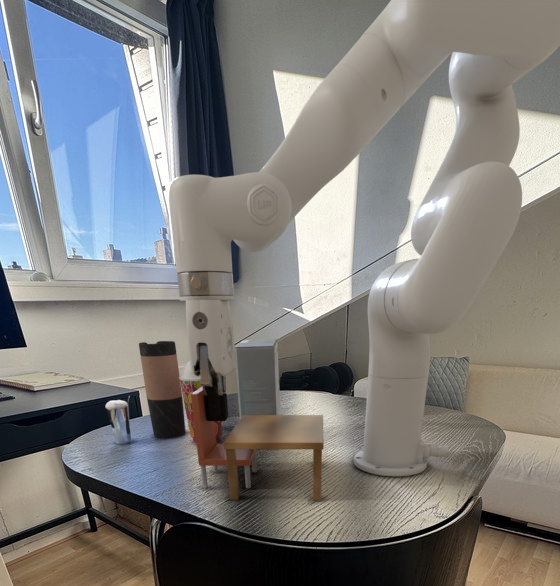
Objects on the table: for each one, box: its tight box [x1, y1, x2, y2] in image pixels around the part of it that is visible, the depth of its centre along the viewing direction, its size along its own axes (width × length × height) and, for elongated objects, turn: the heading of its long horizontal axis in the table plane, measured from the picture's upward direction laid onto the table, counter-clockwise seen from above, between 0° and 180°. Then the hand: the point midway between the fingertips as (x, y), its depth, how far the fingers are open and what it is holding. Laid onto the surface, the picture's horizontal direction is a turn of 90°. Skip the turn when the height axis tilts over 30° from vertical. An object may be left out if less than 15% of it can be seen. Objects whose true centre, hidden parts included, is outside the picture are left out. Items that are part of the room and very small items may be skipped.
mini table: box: [223, 414, 325, 502], centre depth 66 cm, size 14×16×9 cm
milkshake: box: [105, 395, 132, 445], centre depth 88 cm, size 4×5×10 cm
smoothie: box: [179, 360, 223, 444], centre depth 85 cm, size 8×8×20 cm
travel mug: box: [138, 340, 186, 440], centre depth 91 cm, size 8×8×20 cm
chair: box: [191, 387, 258, 489], centre depth 65 cm, size 8×8×15 cm
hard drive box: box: [235, 338, 282, 420], centre depth 86 cm, size 16×8×20 cm, turn 178°
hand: (217, 419), depth 64 cm, fingers closed
